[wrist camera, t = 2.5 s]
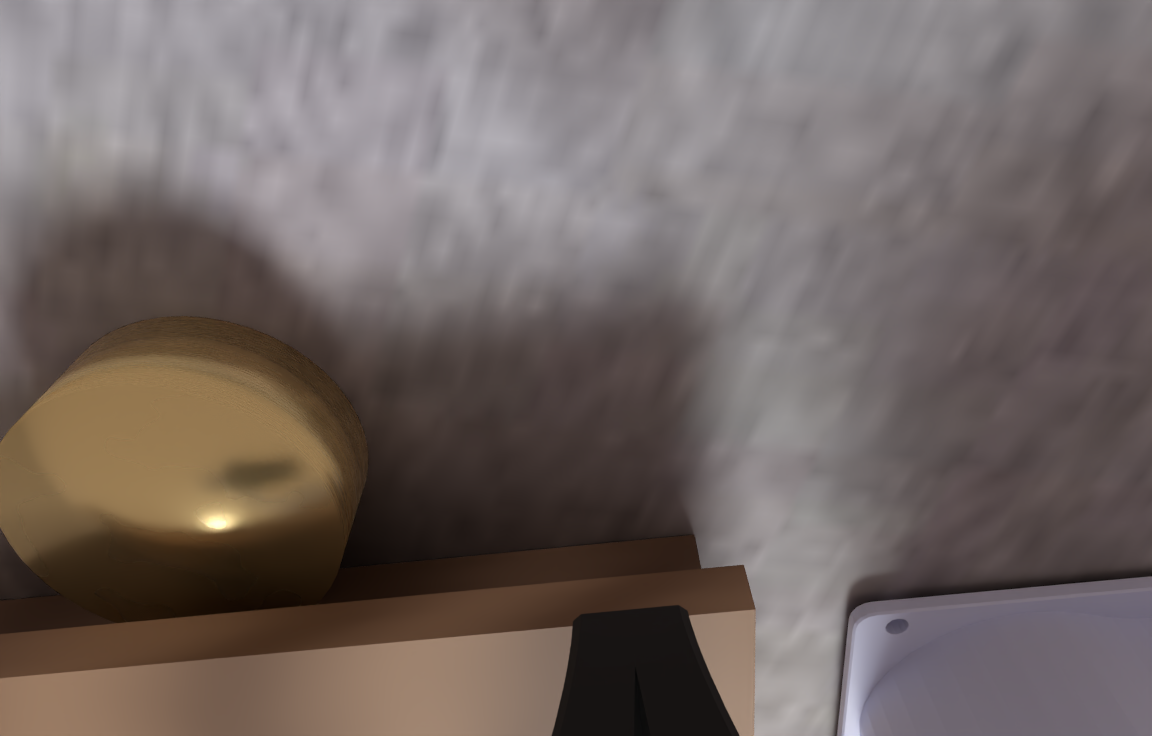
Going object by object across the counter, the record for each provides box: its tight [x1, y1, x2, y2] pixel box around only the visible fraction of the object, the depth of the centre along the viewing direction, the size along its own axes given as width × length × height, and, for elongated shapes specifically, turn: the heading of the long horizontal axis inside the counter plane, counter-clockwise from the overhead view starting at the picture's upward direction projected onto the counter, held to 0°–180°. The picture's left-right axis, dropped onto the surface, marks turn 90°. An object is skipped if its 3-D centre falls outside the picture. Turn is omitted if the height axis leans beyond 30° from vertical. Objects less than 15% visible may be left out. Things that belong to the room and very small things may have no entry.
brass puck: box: [0, 316, 368, 623], centre depth 16 cm, size 6×6×2 cm
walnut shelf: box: [0, 535, 756, 736], centre depth 17 cm, size 18×6×4 cm, turn 96°
